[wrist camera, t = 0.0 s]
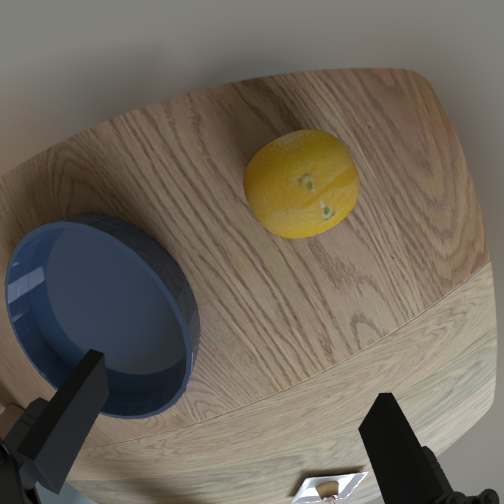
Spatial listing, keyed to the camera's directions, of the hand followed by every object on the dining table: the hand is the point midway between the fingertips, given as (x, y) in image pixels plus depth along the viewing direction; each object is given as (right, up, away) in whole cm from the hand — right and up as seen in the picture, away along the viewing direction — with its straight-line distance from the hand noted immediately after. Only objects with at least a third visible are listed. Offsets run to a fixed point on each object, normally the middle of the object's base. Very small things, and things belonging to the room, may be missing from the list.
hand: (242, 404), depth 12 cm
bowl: (-16, 0, +17) cm, 24 cm away
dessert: (+15, -37, +28) cm, 49 cm away
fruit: (+4, +13, +14) cm, 20 cm away
